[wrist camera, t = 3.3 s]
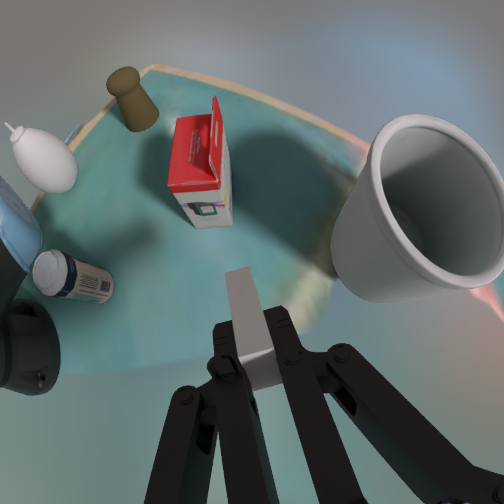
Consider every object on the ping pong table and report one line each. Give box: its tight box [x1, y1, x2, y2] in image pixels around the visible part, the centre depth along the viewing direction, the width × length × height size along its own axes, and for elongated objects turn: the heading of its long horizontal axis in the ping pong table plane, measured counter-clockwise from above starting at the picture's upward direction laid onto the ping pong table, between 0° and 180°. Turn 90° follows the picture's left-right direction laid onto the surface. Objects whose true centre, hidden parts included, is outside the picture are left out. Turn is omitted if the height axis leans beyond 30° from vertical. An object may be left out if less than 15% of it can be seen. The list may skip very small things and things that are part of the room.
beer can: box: [32, 249, 114, 304], centre depth 28 cm, size 5×5×12 cm
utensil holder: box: [330, 114, 504, 303], centre depth 25 cm, size 15×15×18 cm
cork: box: [106, 66, 159, 132], centre depth 36 cm, size 6×6×11 cm
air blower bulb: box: [5, 122, 78, 194], centre depth 30 cm, size 8×8×18 cm
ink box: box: [167, 95, 233, 229], centre depth 29 cm, size 8×5×15 cm, turn 2°
